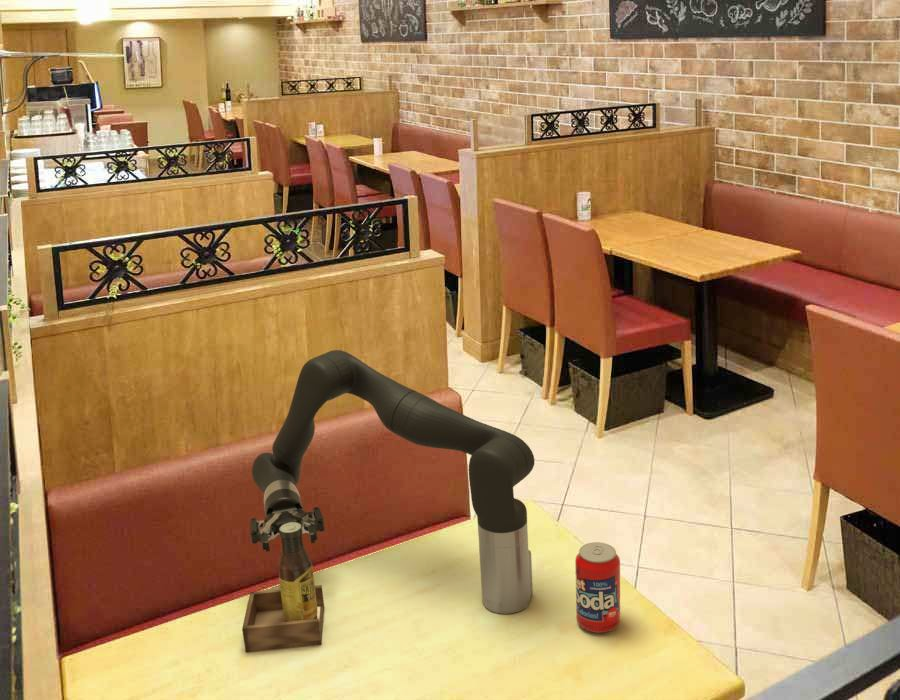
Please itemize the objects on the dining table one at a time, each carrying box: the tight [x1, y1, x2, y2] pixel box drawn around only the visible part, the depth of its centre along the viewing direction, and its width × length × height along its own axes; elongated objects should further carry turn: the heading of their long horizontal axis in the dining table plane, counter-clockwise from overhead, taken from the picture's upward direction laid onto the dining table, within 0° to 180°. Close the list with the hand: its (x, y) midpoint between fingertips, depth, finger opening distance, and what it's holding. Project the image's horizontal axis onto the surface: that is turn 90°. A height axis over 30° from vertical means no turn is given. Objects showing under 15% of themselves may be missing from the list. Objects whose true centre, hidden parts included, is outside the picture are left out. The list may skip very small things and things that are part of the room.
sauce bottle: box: [277, 522, 318, 622], centre depth 169 cm, size 6×6×20 cm
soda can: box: [574, 541, 621, 633], centre depth 165 cm, size 8×8×15 cm
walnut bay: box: [241, 584, 325, 653], centre depth 171 cm, size 14×12×5 cm
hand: (290, 543), depth 175 cm, fingers open, 8 cm apart
